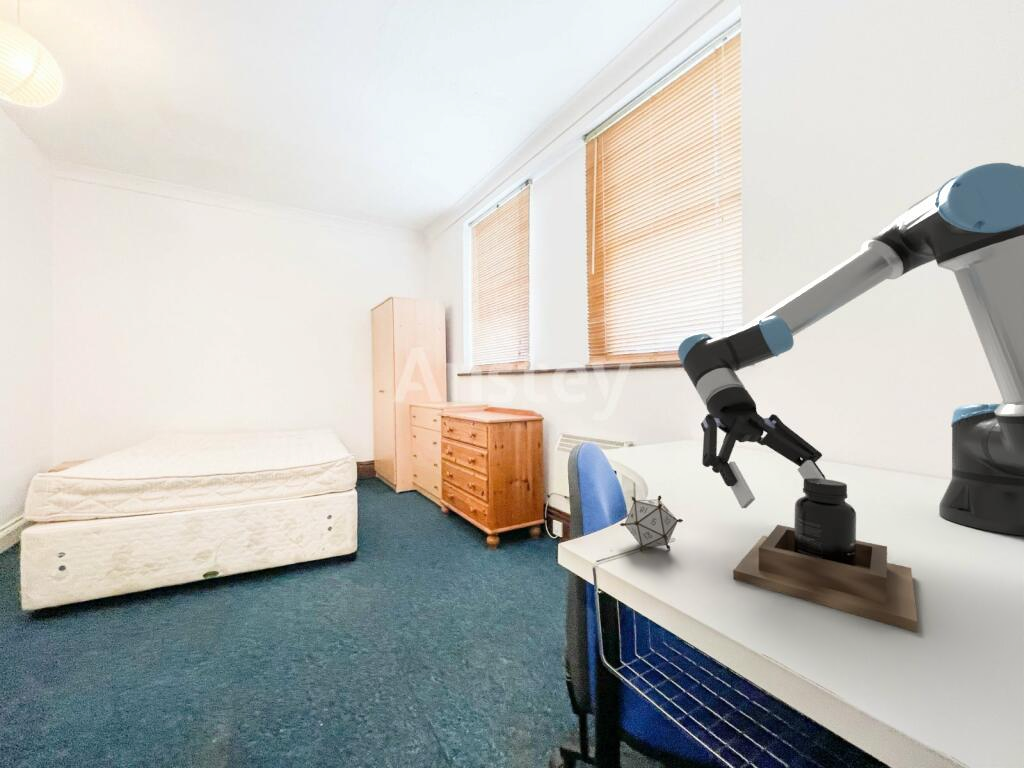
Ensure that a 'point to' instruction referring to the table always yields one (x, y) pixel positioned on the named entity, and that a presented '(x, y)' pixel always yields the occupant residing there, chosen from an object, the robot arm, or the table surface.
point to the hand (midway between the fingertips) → (789, 502)
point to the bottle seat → (833, 579)
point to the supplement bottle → (825, 522)
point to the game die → (651, 523)
